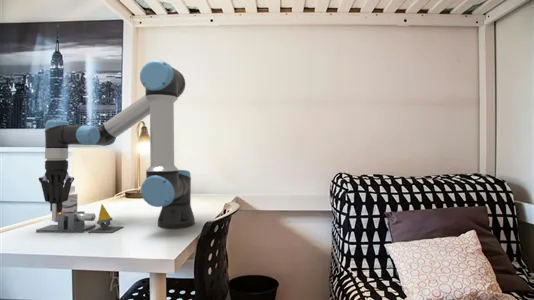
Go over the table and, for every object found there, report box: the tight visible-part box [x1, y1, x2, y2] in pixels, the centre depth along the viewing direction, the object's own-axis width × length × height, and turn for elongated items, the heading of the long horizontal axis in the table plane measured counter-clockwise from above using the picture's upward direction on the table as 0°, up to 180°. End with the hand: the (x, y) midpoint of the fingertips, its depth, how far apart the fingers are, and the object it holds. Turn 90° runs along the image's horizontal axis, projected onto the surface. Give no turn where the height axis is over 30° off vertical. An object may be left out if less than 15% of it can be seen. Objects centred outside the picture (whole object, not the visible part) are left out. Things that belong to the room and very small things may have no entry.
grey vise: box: [35, 210, 96, 234], centre depth 120 cm, size 18×8×7 cm, turn 88°
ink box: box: [55, 185, 78, 223], centre depth 138 cm, size 8×5×15 cm, turn 134°
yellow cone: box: [96, 203, 113, 229], centre depth 120 cm, size 5×5×10 cm
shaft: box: [56, 211, 97, 223], centre depth 120 cm, size 13×5×5 cm, turn 88°
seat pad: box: [88, 225, 124, 234], centre depth 119 cm, size 9×9×1 cm
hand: (56, 219), depth 120 cm, fingers closed
